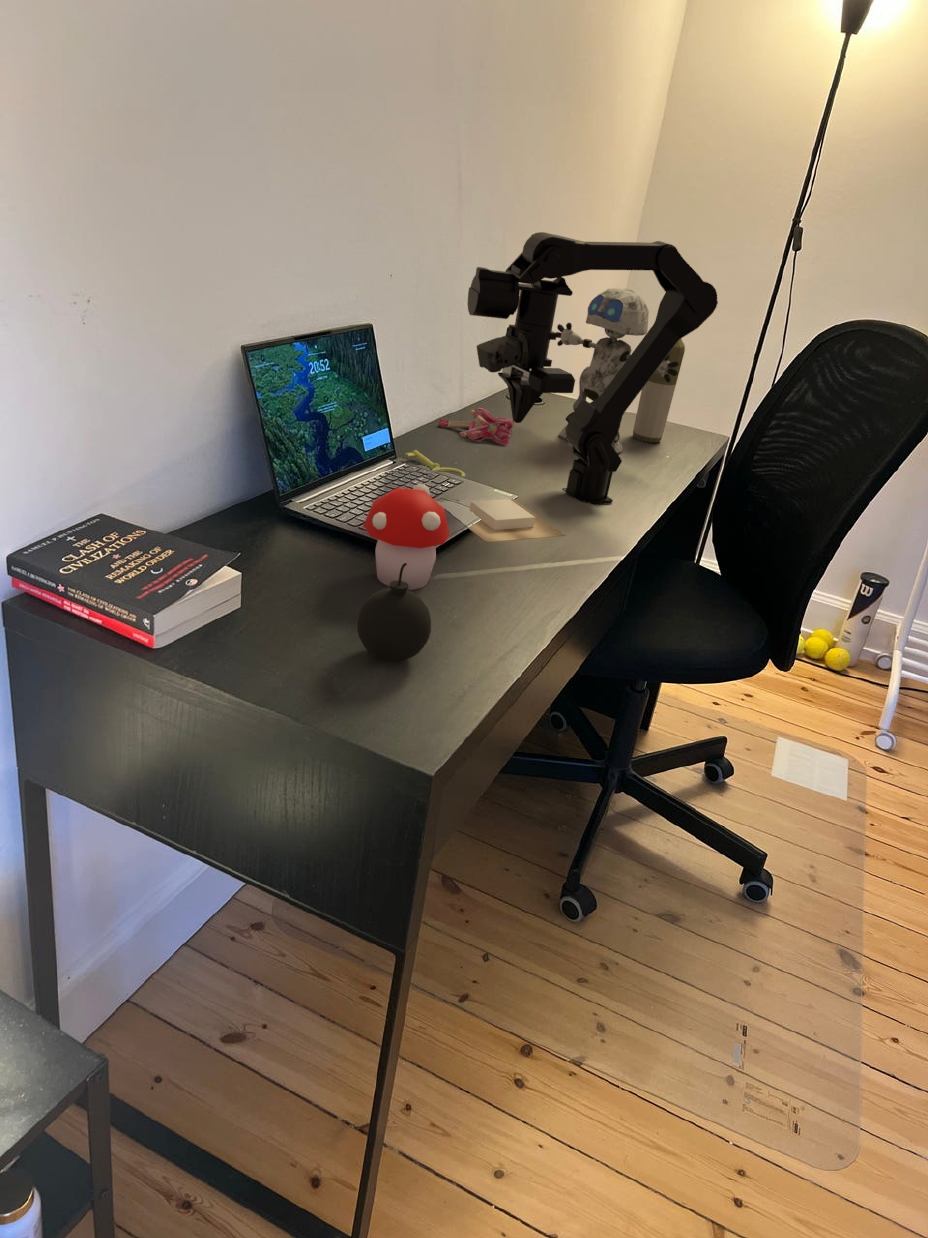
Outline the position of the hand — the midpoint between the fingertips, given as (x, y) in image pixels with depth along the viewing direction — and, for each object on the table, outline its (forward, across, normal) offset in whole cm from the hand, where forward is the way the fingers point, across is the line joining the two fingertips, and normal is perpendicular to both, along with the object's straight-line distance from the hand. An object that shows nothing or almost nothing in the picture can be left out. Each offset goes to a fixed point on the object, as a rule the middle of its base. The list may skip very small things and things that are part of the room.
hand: (516, 422), depth 151 cm
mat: (+12, +11, -8) cm, 18 cm away
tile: (+11, +8, -8) cm, 15 cm away
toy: (+12, -29, +11) cm, 34 cm away
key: (+13, -11, -7) cm, 18 cm away
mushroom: (+12, +26, -32) cm, 43 cm away
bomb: (+12, +44, -42) cm, 62 cm away
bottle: (+12, -25, +51) cm, 58 cm away
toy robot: (+12, -23, +35) cm, 44 cm away
